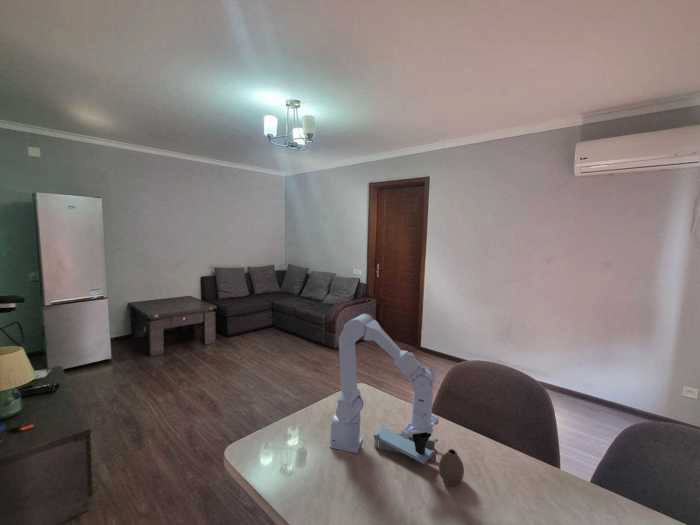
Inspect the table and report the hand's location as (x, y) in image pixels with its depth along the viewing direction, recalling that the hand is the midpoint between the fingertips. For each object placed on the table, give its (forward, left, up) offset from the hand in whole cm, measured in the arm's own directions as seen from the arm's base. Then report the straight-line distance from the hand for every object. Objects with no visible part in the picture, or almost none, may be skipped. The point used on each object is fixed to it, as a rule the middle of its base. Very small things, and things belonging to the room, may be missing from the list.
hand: (419, 452), depth 96 cm
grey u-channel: (-4, +8, -5) cm, 10 cm away
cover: (-6, +4, -2) cm, 7 cm away
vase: (+9, -2, -5) cm, 11 cm away
